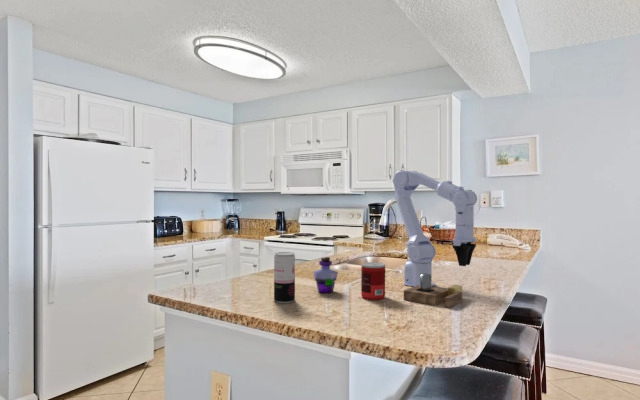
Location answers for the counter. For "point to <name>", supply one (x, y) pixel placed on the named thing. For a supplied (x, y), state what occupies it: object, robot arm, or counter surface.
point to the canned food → (373, 281)
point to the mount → (432, 296)
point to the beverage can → (284, 277)
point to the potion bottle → (325, 276)
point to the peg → (425, 282)
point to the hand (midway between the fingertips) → (464, 265)
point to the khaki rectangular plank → (454, 289)
